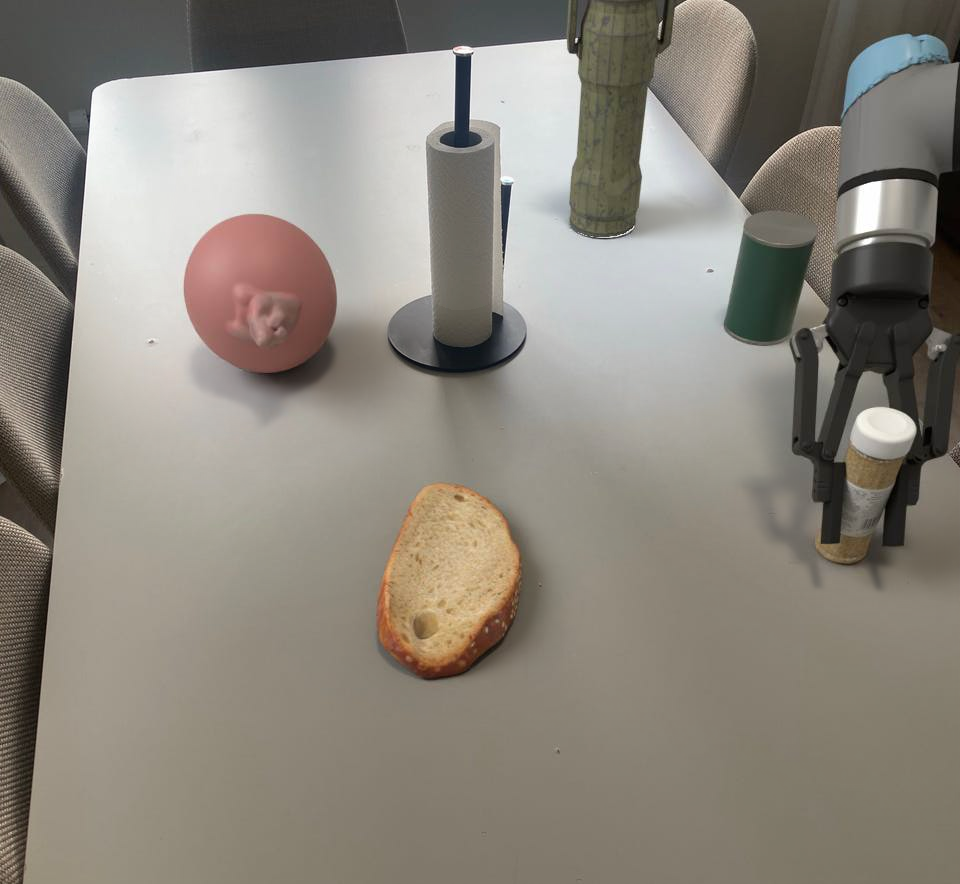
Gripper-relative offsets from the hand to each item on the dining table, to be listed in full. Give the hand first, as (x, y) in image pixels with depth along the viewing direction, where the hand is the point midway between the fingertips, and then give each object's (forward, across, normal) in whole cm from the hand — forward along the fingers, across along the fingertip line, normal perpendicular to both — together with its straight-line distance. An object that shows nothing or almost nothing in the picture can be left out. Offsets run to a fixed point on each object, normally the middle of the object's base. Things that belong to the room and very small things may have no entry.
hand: (861, 544), depth 78 cm
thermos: (-42, +20, -48) cm, 67 cm away
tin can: (-25, +3, -31) cm, 40 cm away
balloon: (-17, +56, -23) cm, 62 cm away
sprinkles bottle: (0, 0, -6) cm, 6 cm away
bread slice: (+5, +35, -1) cm, 35 cm away
